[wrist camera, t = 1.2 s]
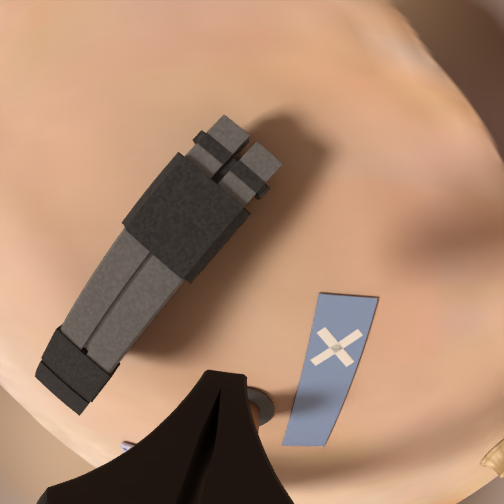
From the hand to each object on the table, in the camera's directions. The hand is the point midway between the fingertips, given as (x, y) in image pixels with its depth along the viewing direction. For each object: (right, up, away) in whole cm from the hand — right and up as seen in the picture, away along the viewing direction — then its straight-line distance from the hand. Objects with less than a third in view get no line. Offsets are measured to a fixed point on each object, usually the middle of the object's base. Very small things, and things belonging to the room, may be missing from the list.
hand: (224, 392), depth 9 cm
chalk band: (+6, -6, +11) cm, 14 cm away
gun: (-6, +4, +10) cm, 12 cm away
